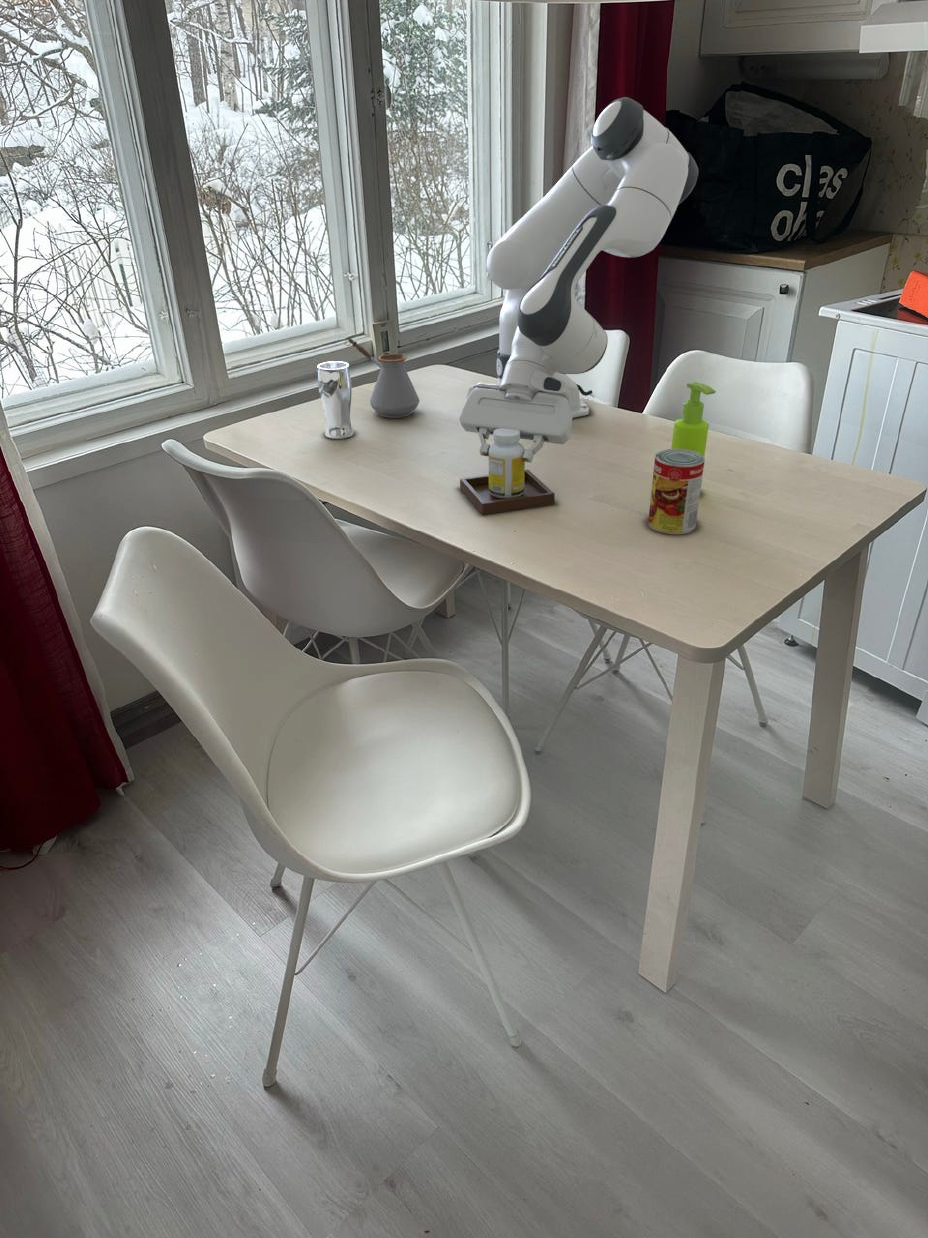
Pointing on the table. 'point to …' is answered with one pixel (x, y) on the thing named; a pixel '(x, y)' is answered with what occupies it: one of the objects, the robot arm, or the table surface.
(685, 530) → the canned food
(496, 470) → the pill bottle
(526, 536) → the table surface
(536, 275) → the robot arm
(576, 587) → the table surface
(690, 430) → the soap dispenser
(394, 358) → the coffee pot
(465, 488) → the tray
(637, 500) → the table surface
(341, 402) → the beer glass
